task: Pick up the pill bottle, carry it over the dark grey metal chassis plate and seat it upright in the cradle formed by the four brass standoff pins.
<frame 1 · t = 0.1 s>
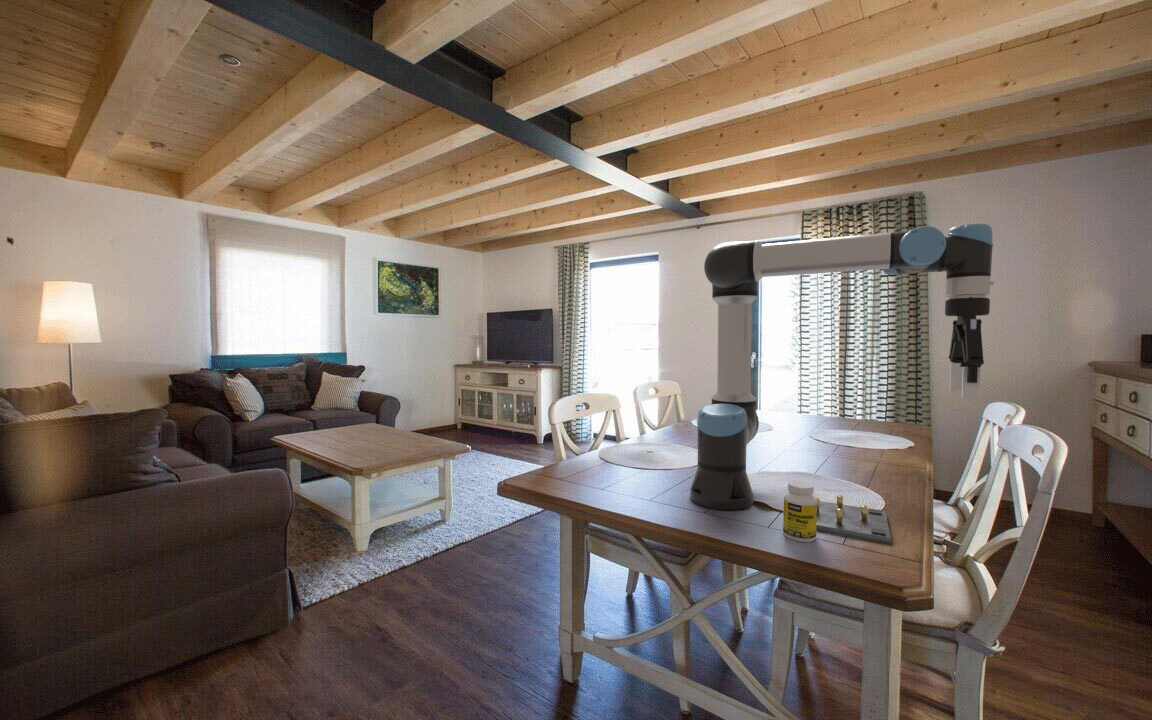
hand: (963, 394, 104), 28 cm above the table, fingers open, 13 cm apart
pill bottle: (799, 537, 97), on the table
chassis: (839, 520, 105), on the table
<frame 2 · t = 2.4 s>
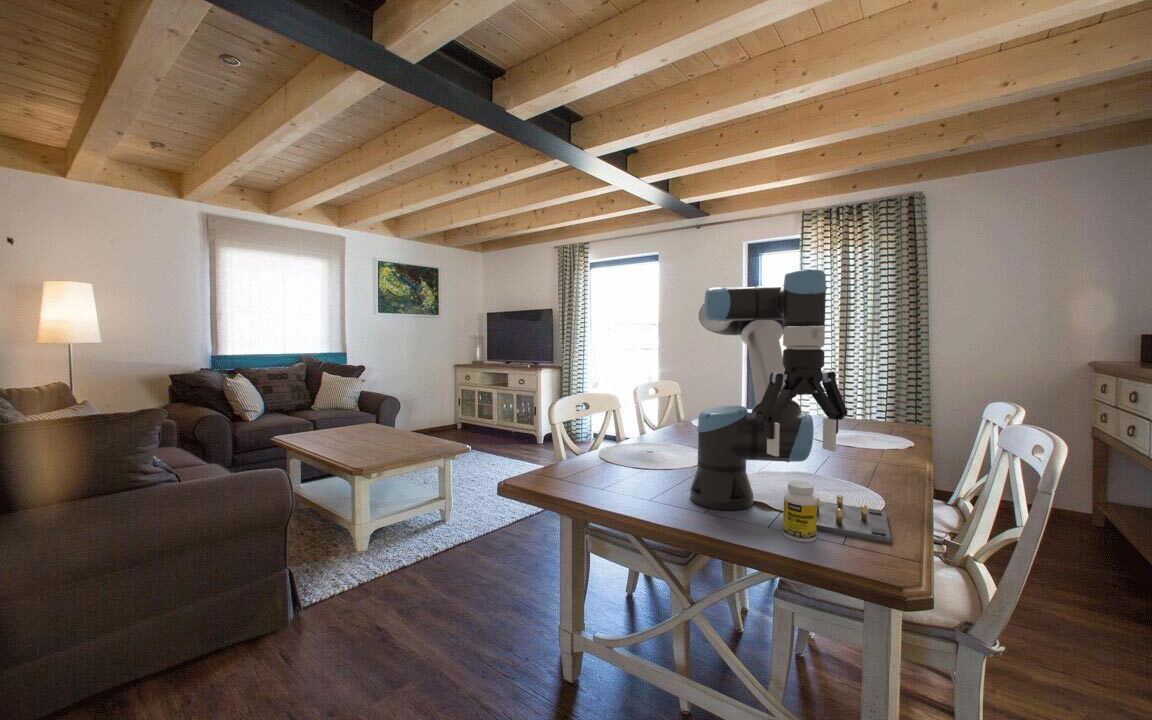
hand: (801, 452, 96), 18 cm above the table, fingers open, 13 cm apart
nothing on the table moved.
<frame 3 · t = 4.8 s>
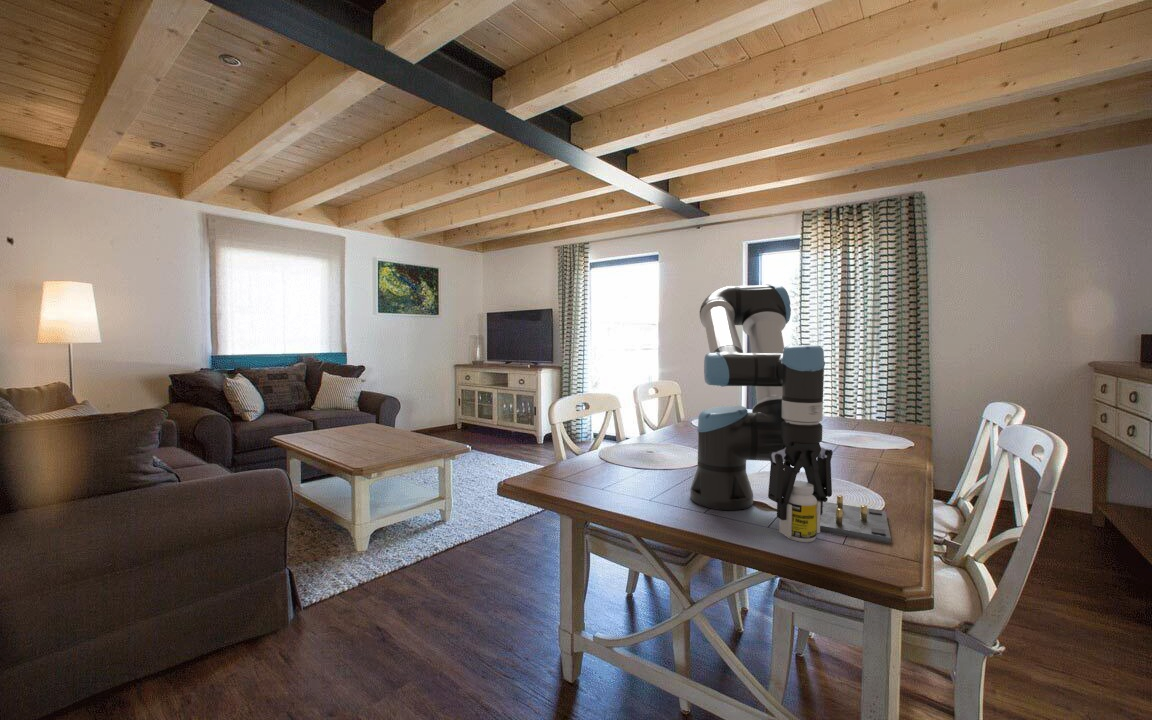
hand: (799, 532, 97), 1 cm above the table, fingers closed on pill bottle, 6 cm apart
pill bottle: (799, 537, 97), on the table, touching gripper
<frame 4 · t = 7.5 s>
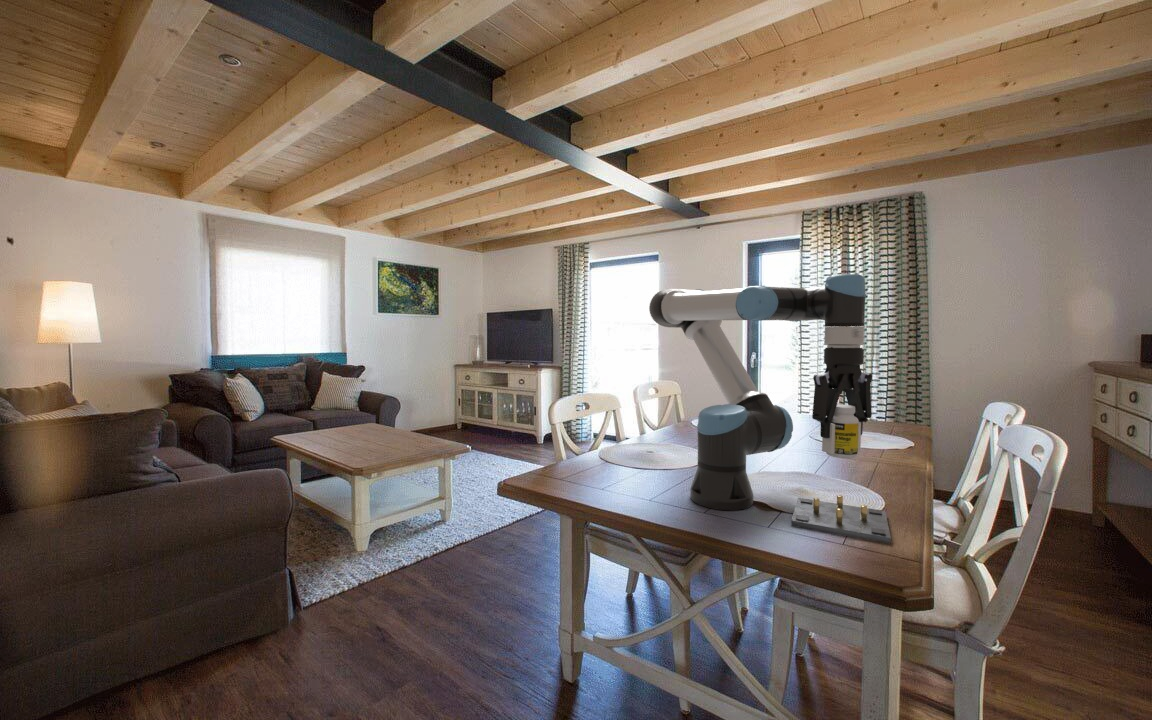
hand: (841, 451, 104), 16 cm above the table, fingers closed on pill bottle, 6 cm apart
pill bottle: (841, 456, 104), point 15 cm above the table, touching gripper
when the fingers open (4 cm above the table, at t = 10.3 s): pill bottle drops 1 cm, resting on chassis.
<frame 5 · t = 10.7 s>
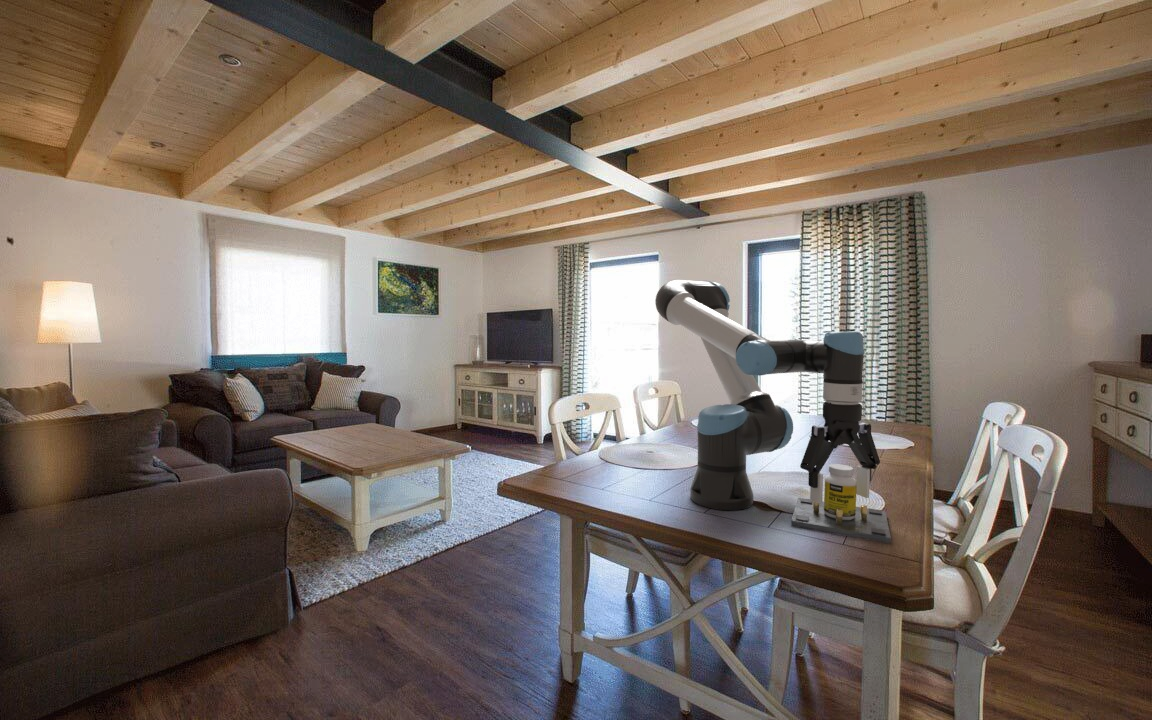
hand: (839, 498, 104), 5 cm above the table, fingers open, 12 cm apart
pill bottle: (839, 516, 105), point 1 cm above the table, touching chassis
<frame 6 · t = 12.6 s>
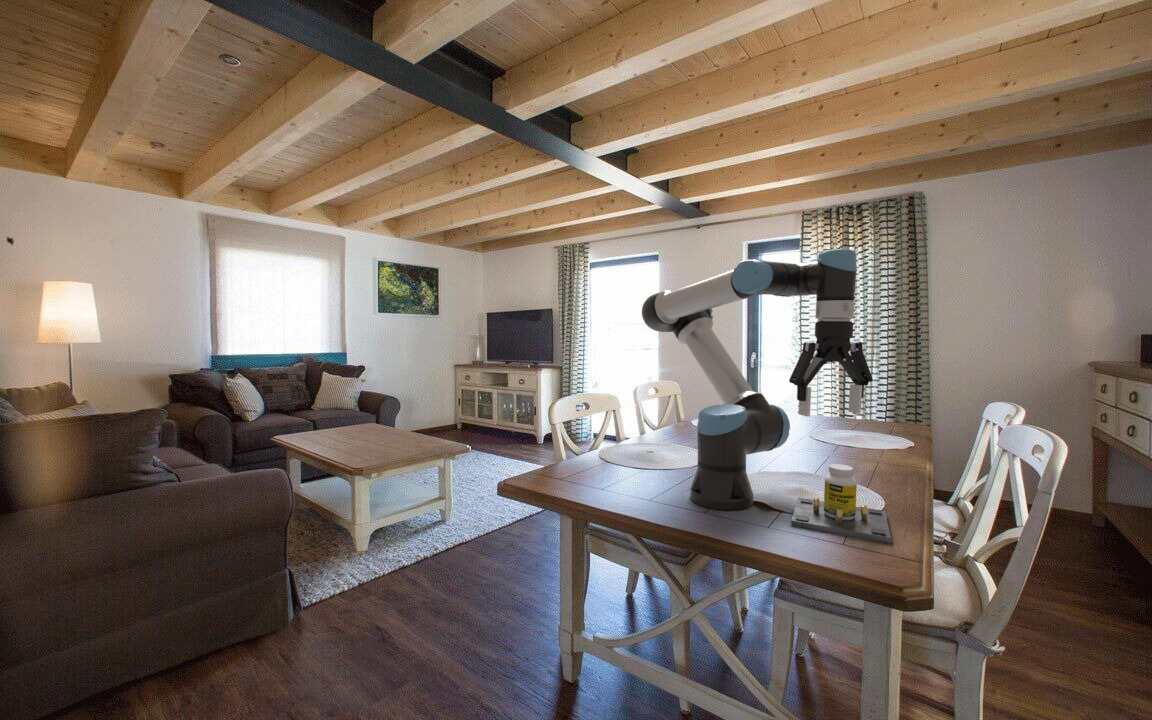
hand: (829, 414, 107), 23 cm above the table, fingers open, 13 cm apart
nothing on the table moved.
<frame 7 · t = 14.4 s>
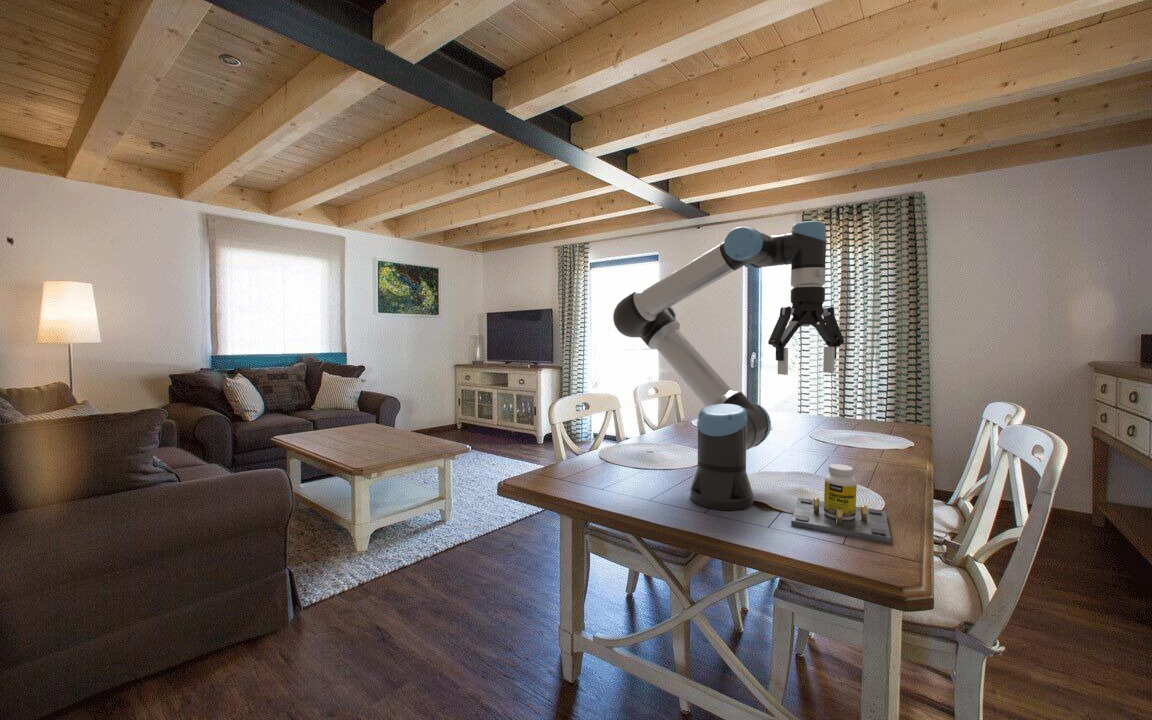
hand: (806, 373, 116), 32 cm above the table, fingers open, 13 cm apart
nothing on the table moved.
at the end: pill bottle 0.0 cm from the chassis (horizontally); pill bottle point 1.0 cm above the table; pill bottle tilted 0° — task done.
